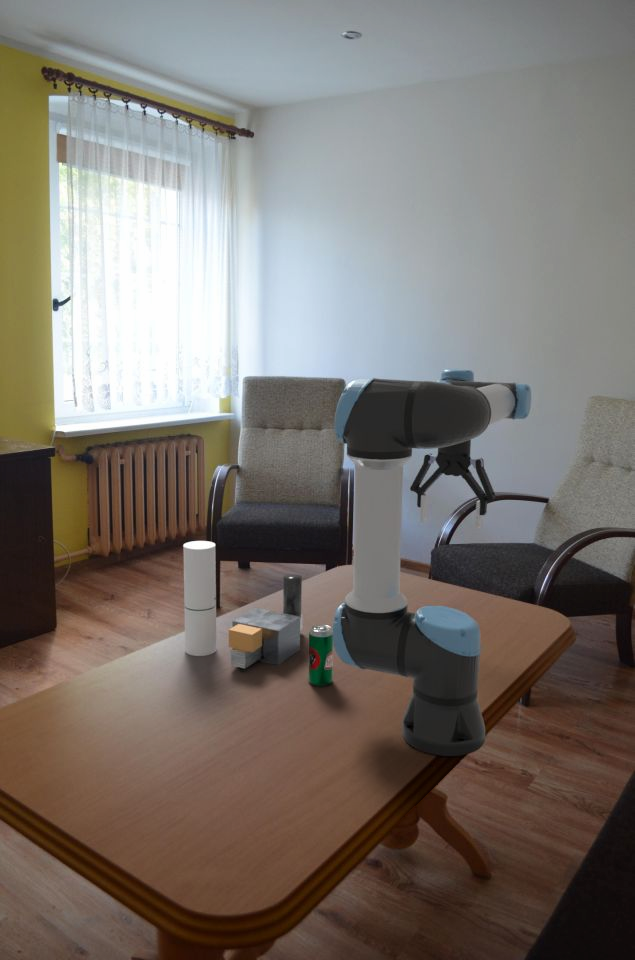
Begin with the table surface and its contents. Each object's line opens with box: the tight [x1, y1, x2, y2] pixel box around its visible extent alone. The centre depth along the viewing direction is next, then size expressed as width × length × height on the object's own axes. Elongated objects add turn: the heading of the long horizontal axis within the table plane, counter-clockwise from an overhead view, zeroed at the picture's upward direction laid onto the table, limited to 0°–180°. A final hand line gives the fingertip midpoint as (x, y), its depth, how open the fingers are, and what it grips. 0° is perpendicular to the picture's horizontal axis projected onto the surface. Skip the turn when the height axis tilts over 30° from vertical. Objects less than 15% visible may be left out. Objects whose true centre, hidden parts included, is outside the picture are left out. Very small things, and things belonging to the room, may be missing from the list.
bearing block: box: [231, 607, 301, 666], centre depth 183 cm, size 10×12×8 cm
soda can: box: [307, 624, 334, 687], centre depth 167 cm, size 5×5×12 cm
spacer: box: [228, 624, 262, 652], centre depth 174 cm, size 4×6×4 cm, turn 63°
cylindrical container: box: [182, 540, 217, 657], centre depth 182 cm, size 7×7×25 cm
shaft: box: [230, 573, 304, 669], centre depth 183 cm, size 26×4×14 cm, turn 153°
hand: (450, 524), depth 190 cm, fingers open, 13 cm apart
